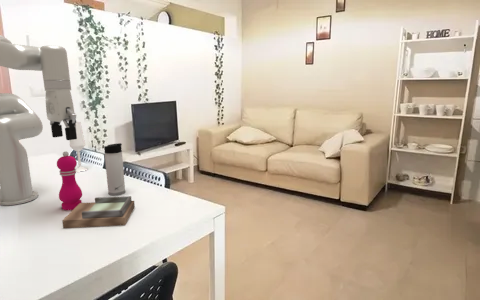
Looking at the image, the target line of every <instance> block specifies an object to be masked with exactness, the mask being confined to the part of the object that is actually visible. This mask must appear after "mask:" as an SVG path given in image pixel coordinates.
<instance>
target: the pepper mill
mask: <svg viewBox="0 0 480 300" xmlns="http://www.w3.org/2000/svg"><path fill="white" fill-rule="evenodd" d="M77 163H78V161H77V160H76V158H75V157H74V156H71V155H70V154H69V152H68V151H63V152H62V156H61V157H58V159H57V160H56V167H57V168H58V169H59V175H60V176H61V181H62V184H61V187H60V190H59V191H58V192H59V193H58V200H59V201H61V202H62V203H61V209H62V210H63V211H72V210H73V209H74V208H75V207H77V206H78V205H79V204H80V203H83V201H82V197H83V191H82V189H81V187H80V185H79V184H78V183H77V181H76V174H77V172H76V168H77V165H78V164H77Z"/></svg>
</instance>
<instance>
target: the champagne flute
mask: <svg viewBox="0 0 480 300" xmlns="http://www.w3.org/2000/svg"><path fill="white" fill-rule="evenodd" d="M76 134H77V139H73V140H69V147H70V148H71V149H72V150H74V152H76V155H77V163H78V164H77V165H78V166H77V167H75V169H76V173H81V172H80V171H84V172H86V171H85V170H87V169H88V168H86V167H83V166H82V161H81V151H82V150H83V149H84V148H85V146H86V142H85V141H86V140H85V138H84V137H85V136H84V132H83V127H82V123H81V121H76ZM87 171H88V170H87Z"/></svg>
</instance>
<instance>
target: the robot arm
mask: <svg viewBox="0 0 480 300" xmlns="http://www.w3.org/2000/svg"><path fill="white" fill-rule="evenodd" d="M0 67H3V68H7V69H12V70H17V71H34V72H35V71H37V72H42V80H43V87H44V92H45V110H46V111H45V112H46V119H47V120H48V121H50V122H49V124H50V130H51V136H52V138H60V137H63V136H64V134H63V133H65V139H66V141H70V140H73V139H77V134H76V122H77V120H76V119H77V114H76V112H75V108H74V101H73V97H72V93H71V91H72V86H71V77H70V70H69V69H70V68H69V61H68V51H67V50H66V48H65V47H63V46H60V45H44V46H33V45H25V44H24V45H23V44H22V45H21V44H15V43H12V42H11V40H9V39H8V38H6V37H5V36H4V35H1V34H0ZM62 122H63V124H64V126H65V127H64V132H63V127H62V126H63V125H62V124H61V123H62ZM42 132H43V122H42V120H41V118H40V117H39V115H38V114H37V113H36V112H35V111H34V110H33V109H32V108H31V107H30V106H29V105H28V104H27V103H26V102H25V101H24V100H23V99H22V98H21V97H20V96H18V95H17V94H14V93H8V92H4V93H3V92H2V93H1V92H0V205H1V206H14V205H21V204H25V203H28V202H31V201H33V200H36V199H37V198H38V197H39V193H38V192H37V191H35V190H33V185H32V184H33V183H32V177H31V170H30V164H29V163H30V162H29V157H28V152H27V149H26V148H25V146H24V145H22V143H21V142H20V140H24V139H31V138H35V137H37V136H39V135H41V133H42Z"/></svg>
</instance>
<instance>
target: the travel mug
mask: <svg viewBox="0 0 480 300" xmlns="http://www.w3.org/2000/svg"><path fill="white" fill-rule="evenodd" d="M122 146H123V143H121V142H120V143H118V142H117V143H111V144H107V145H104V146H103V147H104V148H103V149H104V161H105V162H104V163H105V171H106V172H105V173H106V182H107V193H108V195H110V196H112V197H117V196H121V195H123V194H125V193H126V185H125V184H126V182H125V170H124V161H123V158H124V157H123V151H122V150H123V149H122Z"/></svg>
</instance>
